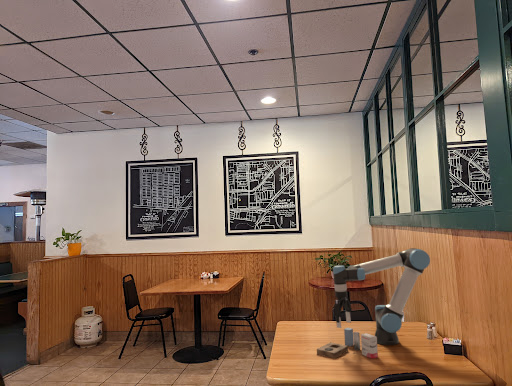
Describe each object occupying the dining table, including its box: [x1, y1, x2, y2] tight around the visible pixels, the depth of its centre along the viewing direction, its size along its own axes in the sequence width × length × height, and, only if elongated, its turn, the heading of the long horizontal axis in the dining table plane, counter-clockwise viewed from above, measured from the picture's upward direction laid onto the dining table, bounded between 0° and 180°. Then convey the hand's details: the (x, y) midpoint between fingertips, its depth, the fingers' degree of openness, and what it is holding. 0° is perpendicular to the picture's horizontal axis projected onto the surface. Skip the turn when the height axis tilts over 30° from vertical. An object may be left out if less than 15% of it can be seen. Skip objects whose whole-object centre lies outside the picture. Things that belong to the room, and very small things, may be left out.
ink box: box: [360, 333, 379, 359], centre depth 215 cm, size 8×5×12 cm, turn 26°
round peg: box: [353, 331, 361, 351], centre depth 227 cm, size 4×4×10 cm
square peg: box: [343, 327, 354, 347], centre depth 236 cm, size 4×4×10 cm
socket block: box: [316, 342, 349, 359], centre depth 222 cm, size 12×16×3 cm
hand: (344, 325), depth 232 cm, fingers open, 13 cm apart
